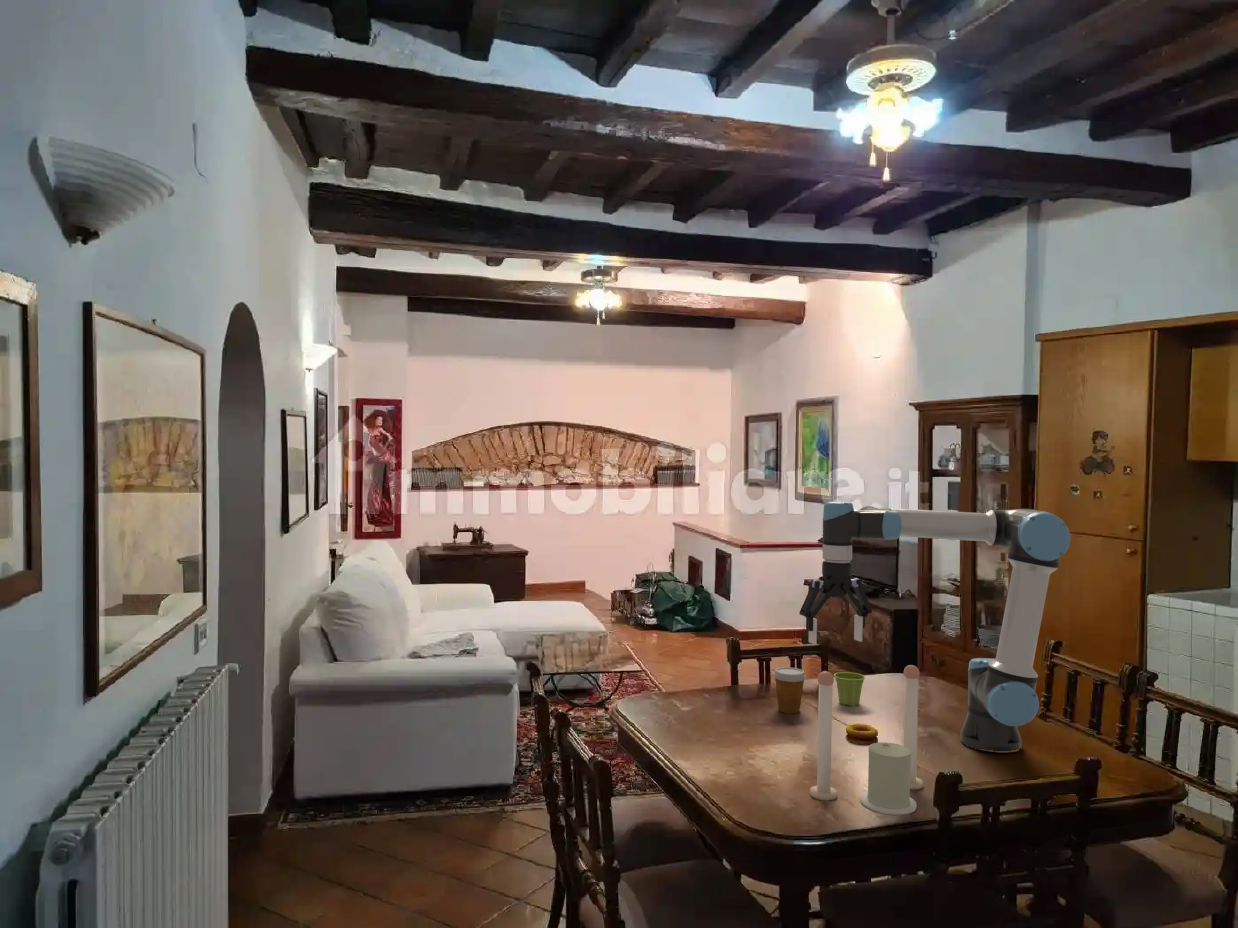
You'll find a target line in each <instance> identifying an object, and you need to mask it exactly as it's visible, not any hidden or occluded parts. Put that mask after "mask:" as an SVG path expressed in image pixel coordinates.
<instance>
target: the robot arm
mask: <svg viewBox="0 0 1238 928" xmlns="http://www.w3.org/2000/svg"><path fill="white" fill-rule="evenodd" d="M822 513H823V514H822V562H821V565H822V566H821V575H822V579H821V580H818V579H814V578H813V579H811V581H810V587H809V591H807V594H806V597H805V599H804V601H803V603H802V605H801V608H800V610H799V615H800V616H803V617H804V618H805V619H806V621H805V622H806V624H805V625H806V626H805V628H806V630H807V631H808V643H809V644H811V645H817V641H818V640H817V639H818V638H817V636H818V635H817V633H818V629H817V628H818V619H817V618H815V617H816V616H817V615H818V613H819V612H820V610H821V609H822V608H823V606H824V605H825V604H826V602H827V601H828V600H830V598H831V597H832V598H836V597H841V598H842V597H843V598H845V599H846V601H847V602H848V603H849V604H850V605H851V607H852V609H853V610H854V612H855V613H856V614H854V617H853V619H854V623H853V624H854V625H853V626H854V627H853V629H854V630H853V640H854V641H857V642H860V643H861V642H863V629H864V628H866V627H865V626H866V617H868V615H869V614H872V613H873V609H872V607H871V604H870V602H869V600H868V598H867V595H866V593H865V590H864V588H863V580H862V579H860V578H857V577H853V579H851V578H852V577H851V576H852V575H853V574H852V573H853V570H852V569H853V563H852V562H851V561H852V560H853V539H855V540H856V539H864V540H865V539H866V540H885V541H888V540H897V539H898V540H899V538H900V537H907V538H908V537H909V538H925V539H938V540H939V539H942V540H954V541H955V540H957V541H972V542H973V541H975V542H985V543H986V545H988V546H992V547H993V546H994V547H1003V548H1007V549H1009V550H1008V556H1007V560H1008V561H1009V563H1010V565H1011V566H1012V568H1011V570H1012V571H1011V575H1010V580H1009V585H1008V590H1007V597H1006V601H1005V602H1006V603H1005V606H1004V612H1003V618H1002V623H1001V624H1002V625H1001V629H1000V634H999V638H998V640H999V641H998V646H997V650H996V656H995V658H986V657H983V658H982V657H976V658H972V659H970V661H969V662H968V669H967V672H968V677H967V678H968V679H967V680H968V682H967V684H968V685H967V689H968V690H967V691H968V693H967V714H966V717H965V719H964V722H963V725H962V727H961V729H960V734H959V735H960V736H959V737H960V738H959V739H960V740H961V741H960V742H961V743H962V742H963V743H964V744H966V745H968V746H969V747H968V746H967V747H968V748H970V747H972V748H971V749H973V748H976V749H985V750H993V751H1011V750H1016V749H1020V748H1021V749H1022V737H1021V735H1020V731H1019V729H1018V727H1021V726H1025V725H1027V724H1029V723H1030V722H1031V721H1032V720H1034V718H1035V717H1036V716H1037V714H1038V712H1039V710H1040V709H1039V708H1040V701H1039V700H1040V699H1039V697H1038V695H1037V692H1036V689H1037V688H1036V687H1037V683H1038V677H1039V675H1038V673H1037V672H1036V670H1035V669H1034V661H1035V656H1036V651H1037V645H1038V639H1039V635H1040V630H1041V629H1040V628H1041V624H1042V619H1043V613H1044V610H1045V609H1044V608H1045V603H1046V596H1047V592H1048V587H1049V582H1050V577H1051V576H1050V575H1051V574H1052V573H1054V572H1055V571H1057V570H1058V569H1059V565H1060V559H1061V557H1063V555H1064V554H1065V553H1066V552H1067V551H1068V549H1069V547H1070V543H1071V534H1070V529H1069V528H1068V525H1067V524H1066V523H1065V521H1064V520H1063V519H1061V518H1060V517H1059V516H1057V515H1055V514H1053V513H1051V512H1048V511H1045V510H1037V509H1032V508H1015V509H988V511H987V512H986V513H984V512H968V511H967V512H966V511H948V510H946V511H945V510H932V509H930V510H929V509H914V508H913V509H912V508H911V509H909V508H891V507H890V508H889V507H875V506H872V505H871V506H870V505H868V506H863V507H861V508H860V509H854V505H853V503H852V502H850V501H827V502H825V504H824V505H823V512H822ZM851 587H853V590H854V592H855V594H856V597H857V598H856V597H855V596H854V594H853V592H852V591H851V589H850V588H851ZM821 588H822V589H821ZM820 589H821V591H820ZM817 596H818V597H817ZM963 743H962V744H963ZM964 744H963V745H964ZM966 745H965V746H966ZM976 749H975V750H976Z"/></svg>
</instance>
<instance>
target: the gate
mask: <svg viewBox="0 0 1238 928" xmlns="http://www.w3.org/2000/svg"><path fill="white" fill-rule="evenodd" d="M903 669H904V670H903V676H904V698H903V699H904V701H903V702H904V705H903V707H904V708H903V711H904V712H903V746H905V747H907V748H908V749H910V751H911V761H910V790H921V789H923V788H924V781H923V780H922V779H921V778H920V777H917V765H918V764H917V763H918V762H917V761H918V755H917V753H918V719H919V718H918V713H919V711H918V710H919V707H918V706H919V677H920V675H921V672H920V669H919V668H918V667H917V666H916V665H913V664H908V665H906V666H905V667H904V668H903ZM817 682H818V711H817V714H818V718H817V719H818V722H817V761H816V762H817V770H816V772H817V773H816V777H817V778H816V785H814V786H811V787H810V789H809V790H810V791H809V794H810V796H811V797H812V798H814V799H815V800H816V799H817V800H820V801H833V800H834V801H835V800H836V799H837V798H838V790H837V789H836V788H834V787H832V786H831V785H832V784H831V781H832V779H831V778H832V738H833V737H832V731H833V729H832V727H833V723H832V722H833V685H834V682H835V677H834V674H832V673H831V672H829V671H827V670H823V671H821V672H820V673H819V674H818V675H817Z"/></svg>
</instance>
